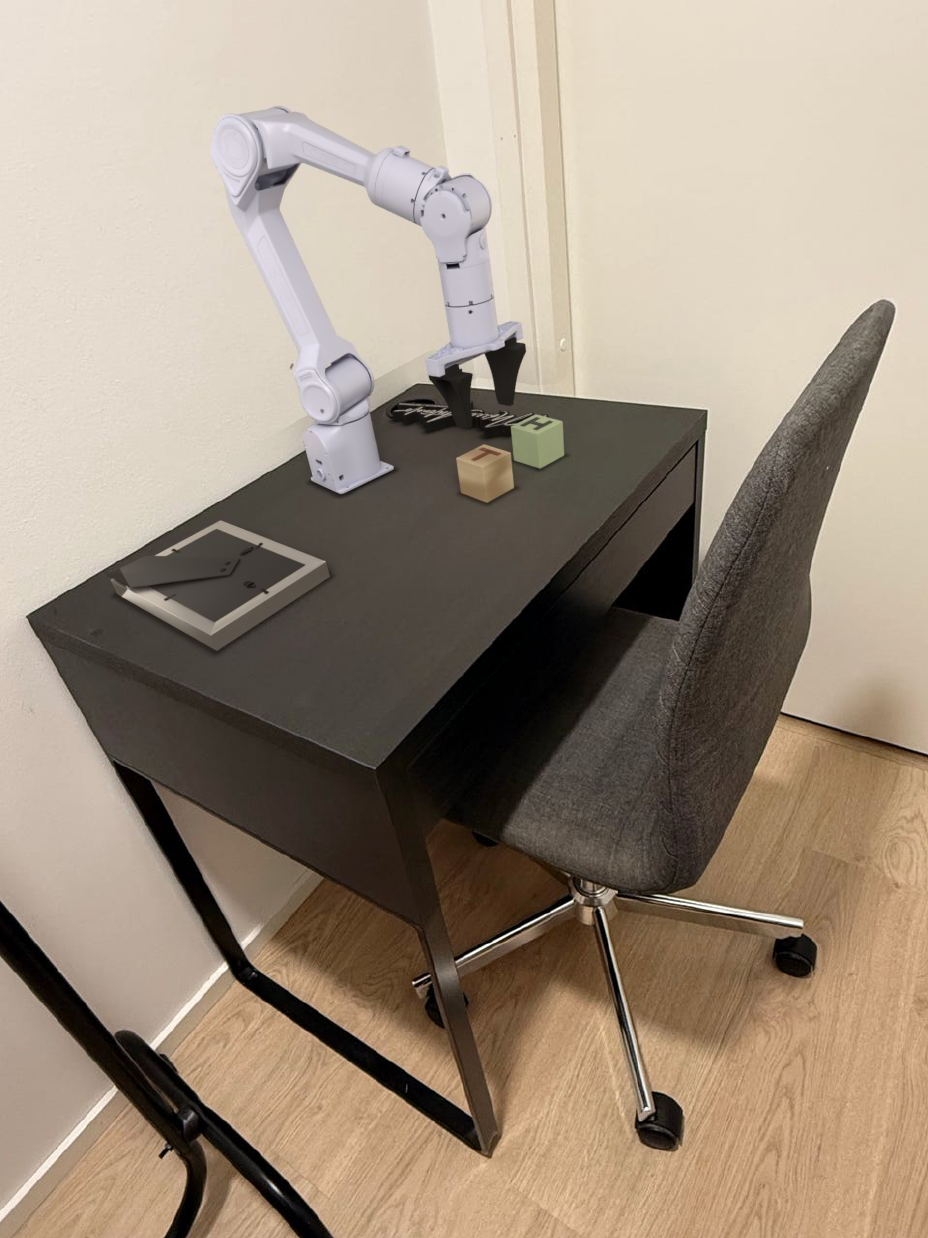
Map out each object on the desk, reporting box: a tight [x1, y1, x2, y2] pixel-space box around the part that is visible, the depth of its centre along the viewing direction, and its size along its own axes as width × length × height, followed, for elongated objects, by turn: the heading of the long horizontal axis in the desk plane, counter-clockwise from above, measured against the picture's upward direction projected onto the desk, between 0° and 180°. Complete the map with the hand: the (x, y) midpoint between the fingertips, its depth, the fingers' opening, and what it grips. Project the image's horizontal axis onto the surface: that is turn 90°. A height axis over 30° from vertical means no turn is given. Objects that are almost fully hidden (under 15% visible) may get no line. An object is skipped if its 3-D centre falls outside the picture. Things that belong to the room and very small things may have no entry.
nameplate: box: [391, 400, 550, 439], centre depth 118 cm, size 28×2×10 cm
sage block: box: [511, 413, 565, 469], centre depth 103 cm, size 5×5×5 cm
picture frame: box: [107, 520, 331, 652], centre depth 86 cm, size 16×3×21 cm
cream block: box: [455, 443, 515, 504], centre depth 97 cm, size 5×5×5 cm
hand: (485, 415), depth 93 cm, fingers open, 7 cm apart
